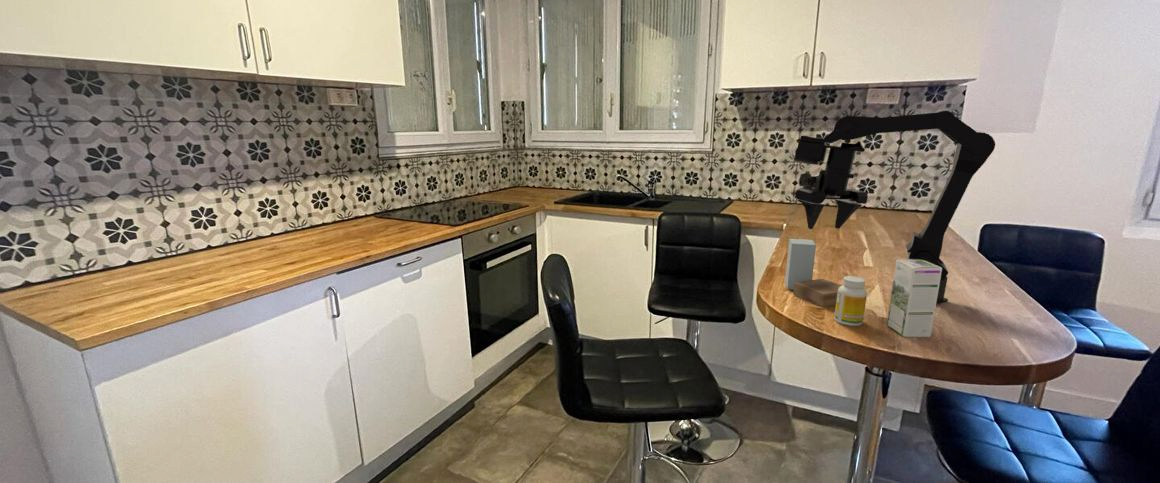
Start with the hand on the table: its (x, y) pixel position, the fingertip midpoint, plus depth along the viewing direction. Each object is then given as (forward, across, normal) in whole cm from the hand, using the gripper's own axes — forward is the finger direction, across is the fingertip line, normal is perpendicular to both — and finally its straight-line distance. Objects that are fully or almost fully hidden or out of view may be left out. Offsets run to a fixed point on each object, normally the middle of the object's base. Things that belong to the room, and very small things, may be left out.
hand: (823, 228), depth 125 cm
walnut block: (+15, +7, +10) cm, 19 cm away
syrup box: (+13, +6, +31) cm, 34 cm away
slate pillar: (+15, +6, +2) cm, 16 cm away
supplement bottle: (+14, +13, +23) cm, 30 cm away
